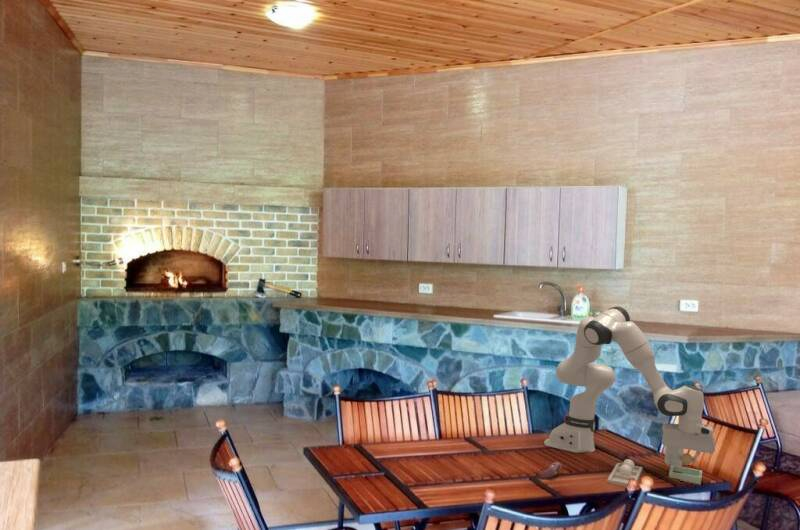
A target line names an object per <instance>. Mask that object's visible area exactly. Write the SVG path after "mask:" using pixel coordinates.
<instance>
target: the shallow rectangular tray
mask: <svg viewBox="0 0 800 530" xmlns="http://www.w3.org/2000/svg"><path fill="white" fill-rule="evenodd" d="M622 465H623V462H617V463H616V464H615V466H614V468H613V469H612V471H611V473H610V474H609V476H608V478H607V479H606V480H607V481H606V483H607V484H610V485H611V484H612V485H616V486H623V487H626V488H628V487H627V484H628V481H629V479H631V478H634V479H635V480H636V481H637V482H638V481H639V479H640V476H641V474H642V471H643V467H642V466H638V465H635V466H634V469H633V470H632V473H631V475H629V476H624V475H622V474H621V473H620V467H621V466H622Z"/></svg>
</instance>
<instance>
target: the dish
mask: <svg viewBox="0 0 800 530" xmlns="http://www.w3.org/2000/svg"><path fill="white" fill-rule="evenodd" d="M668 477H669V478H672V479H678V480H680V481H684V482H683V483H685V482H689V483H688V484H690V483H694V484H693V485H695V484H699V485H698V486H701V484H702V477H703V470H701V469H695V468H691V467H686V466H685V467H683V466H682V467H680V466H674V465H671V466H670V469H669V473H668ZM680 481H679V482H680Z"/></svg>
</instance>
